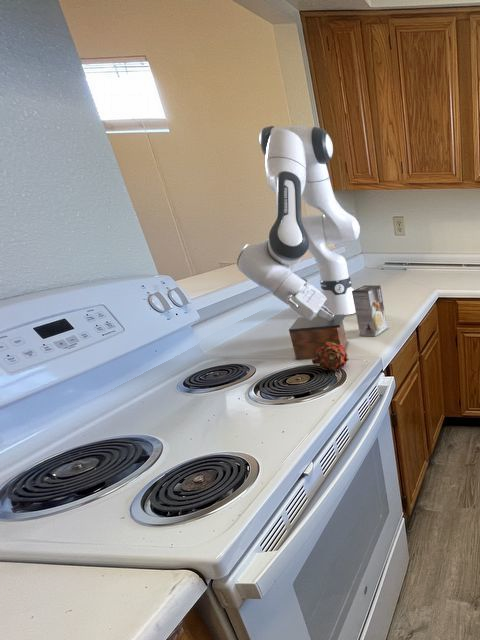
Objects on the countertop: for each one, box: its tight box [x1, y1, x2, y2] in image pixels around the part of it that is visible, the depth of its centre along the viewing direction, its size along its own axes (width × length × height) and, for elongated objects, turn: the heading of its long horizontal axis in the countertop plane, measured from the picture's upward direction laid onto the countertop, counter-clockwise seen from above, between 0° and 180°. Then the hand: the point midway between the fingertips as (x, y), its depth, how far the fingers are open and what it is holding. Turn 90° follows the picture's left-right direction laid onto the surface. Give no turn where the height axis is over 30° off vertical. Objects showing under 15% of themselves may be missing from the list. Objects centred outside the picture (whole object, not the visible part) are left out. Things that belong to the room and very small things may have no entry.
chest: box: [289, 320, 348, 360], centre depth 133 cm, size 14×13×9 cm
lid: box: [288, 314, 345, 333], centre depth 131 cm, size 14×13×1 cm
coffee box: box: [352, 284, 388, 337], centre depth 147 cm, size 9×6×16 cm
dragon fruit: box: [311, 342, 350, 372], centre depth 118 cm, size 8×8×12 cm
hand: (332, 318), depth 131 cm, fingers closed, pressing on lid
